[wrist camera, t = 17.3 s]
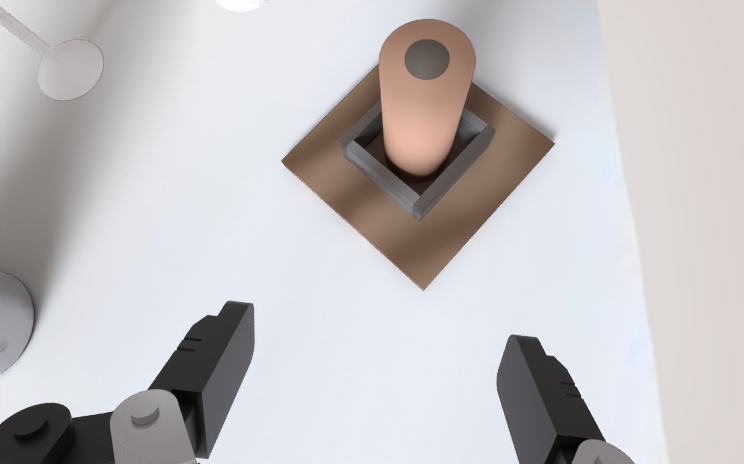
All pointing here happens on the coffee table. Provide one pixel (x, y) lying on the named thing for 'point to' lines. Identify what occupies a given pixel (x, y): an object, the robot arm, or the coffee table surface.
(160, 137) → the coffee table surface
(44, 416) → the robot arm
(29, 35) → the champagne flute
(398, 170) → the roll
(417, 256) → the holder
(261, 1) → the cylindrical container
